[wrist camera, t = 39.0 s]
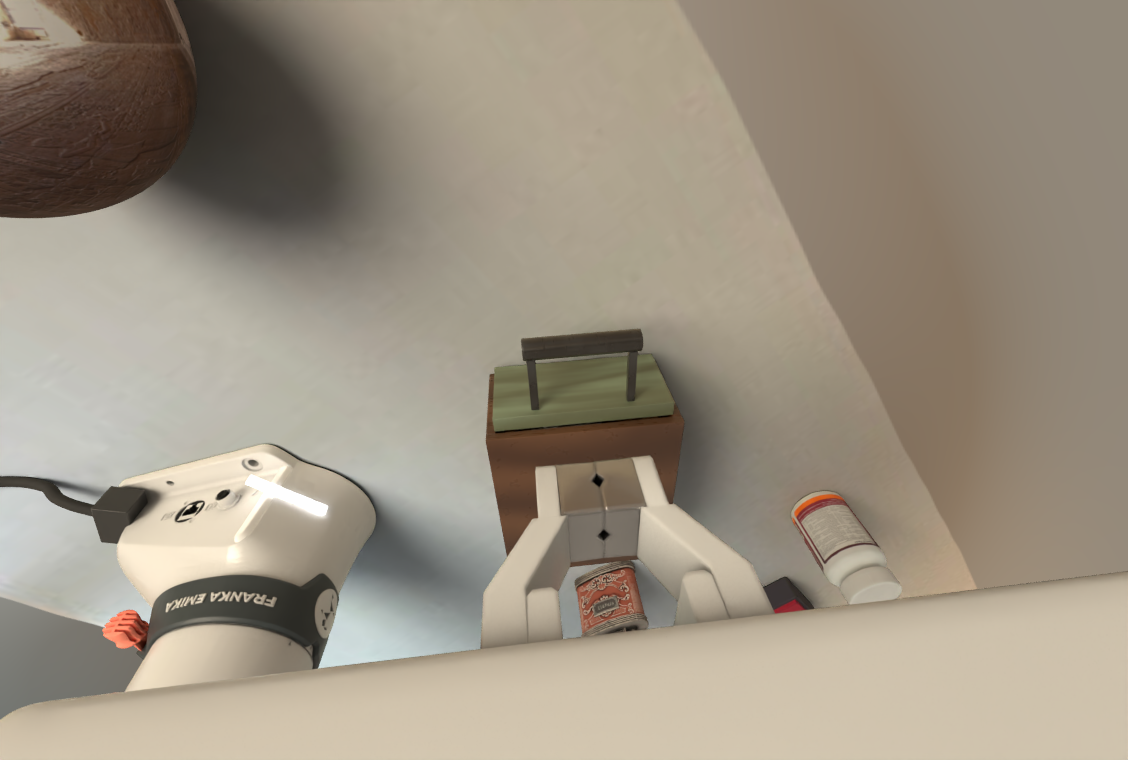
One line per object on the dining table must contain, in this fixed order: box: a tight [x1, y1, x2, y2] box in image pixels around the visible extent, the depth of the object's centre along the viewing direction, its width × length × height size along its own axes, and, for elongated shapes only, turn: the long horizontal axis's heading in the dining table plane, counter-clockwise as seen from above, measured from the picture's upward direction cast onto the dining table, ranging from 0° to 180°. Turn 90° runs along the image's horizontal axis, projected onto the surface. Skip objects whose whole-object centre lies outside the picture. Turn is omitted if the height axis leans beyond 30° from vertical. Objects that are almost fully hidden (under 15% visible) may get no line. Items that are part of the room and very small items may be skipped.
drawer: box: [492, 329, 675, 433], centre depth 39 cm, size 21×13×7 cm, turn 2°
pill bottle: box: [791, 491, 902, 605], centre depth 50 cm, size 6×6×11 cm
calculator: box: [763, 577, 814, 614], centre depth 67 cm, size 11×4×15 cm
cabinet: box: [486, 361, 684, 567], centre depth 42 cm, size 16×14×8 cm
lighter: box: [575, 560, 648, 637], centre depth 55 cm, size 8×3×10 cm, turn 119°
